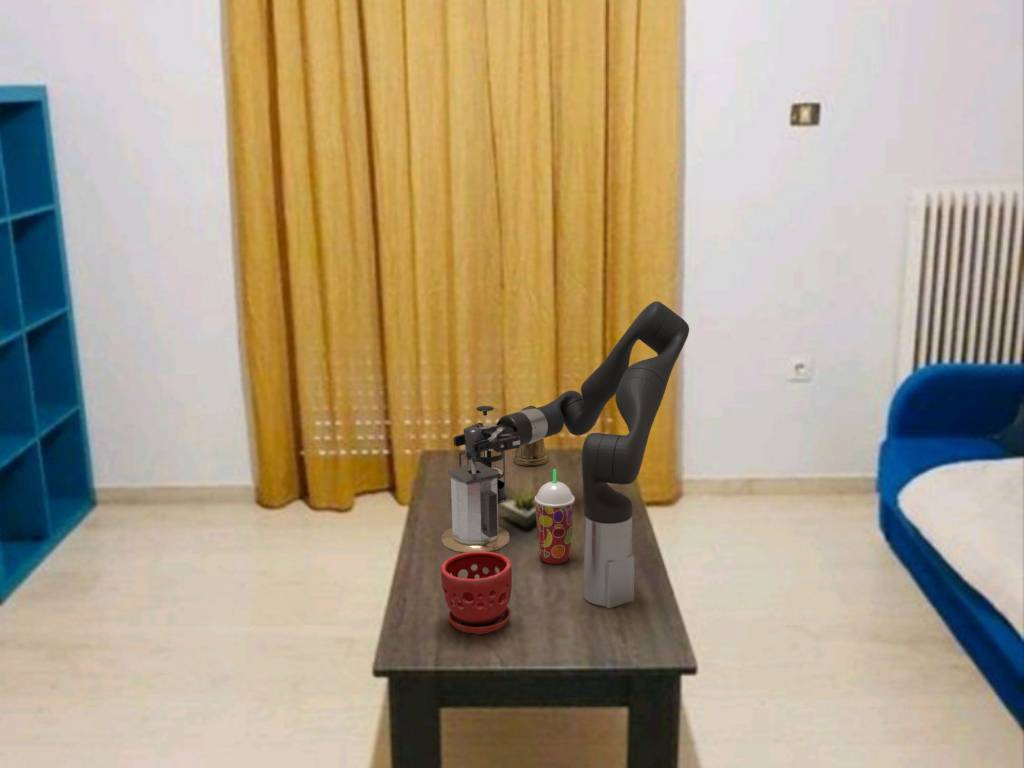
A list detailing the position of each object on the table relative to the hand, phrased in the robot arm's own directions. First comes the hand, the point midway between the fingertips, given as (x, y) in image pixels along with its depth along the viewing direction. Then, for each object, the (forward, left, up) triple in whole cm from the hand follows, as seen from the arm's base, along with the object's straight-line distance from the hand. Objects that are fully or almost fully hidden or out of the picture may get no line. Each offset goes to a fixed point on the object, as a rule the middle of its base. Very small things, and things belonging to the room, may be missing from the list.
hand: (464, 445), depth 236 cm
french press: (+20, -16, -23) cm, 35 cm away
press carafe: (0, -2, -23) cm, 23 cm away
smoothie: (-18, -11, -23) cm, 31 cm away
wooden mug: (+34, -38, -23) cm, 56 cm away
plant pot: (-33, +16, -23) cm, 43 cm away
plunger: (0, -2, -20) cm, 20 cm away
